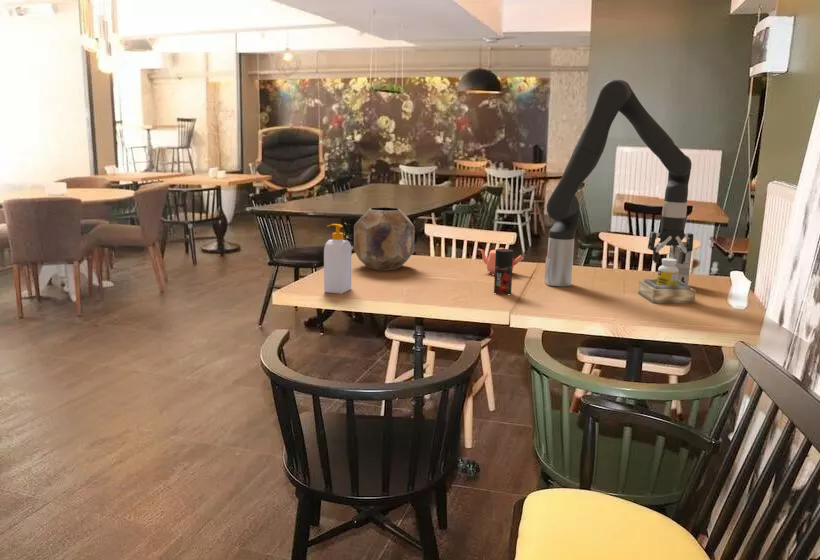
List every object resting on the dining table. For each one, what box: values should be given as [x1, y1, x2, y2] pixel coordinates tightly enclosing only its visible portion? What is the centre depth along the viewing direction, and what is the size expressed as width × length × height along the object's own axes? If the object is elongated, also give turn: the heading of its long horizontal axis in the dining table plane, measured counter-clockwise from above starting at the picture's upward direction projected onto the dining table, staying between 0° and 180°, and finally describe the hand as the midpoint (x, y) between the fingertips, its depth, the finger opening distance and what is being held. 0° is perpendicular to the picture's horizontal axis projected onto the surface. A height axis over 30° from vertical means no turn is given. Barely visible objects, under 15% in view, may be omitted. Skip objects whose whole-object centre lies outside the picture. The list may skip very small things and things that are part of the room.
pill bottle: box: [656, 257, 679, 286], centre depth 230 cm, size 6×6×12 cm
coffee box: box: [668, 241, 693, 285], centre depth 250 cm, size 9×6×16 cm
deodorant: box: [493, 248, 514, 296], centre depth 233 cm, size 6×6×15 cm
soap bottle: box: [323, 223, 352, 295], centre depth 231 cm, size 9×7×23 cm
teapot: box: [477, 247, 524, 275], centre depth 268 cm, size 14×12×10 cm
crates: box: [637, 278, 697, 305], centre depth 231 cm, size 14×14×6 cm
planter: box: [353, 206, 416, 272], centre depth 273 cm, size 22×24×24 cm
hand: (668, 263), depth 229 cm, fingers open, 8 cm apart
